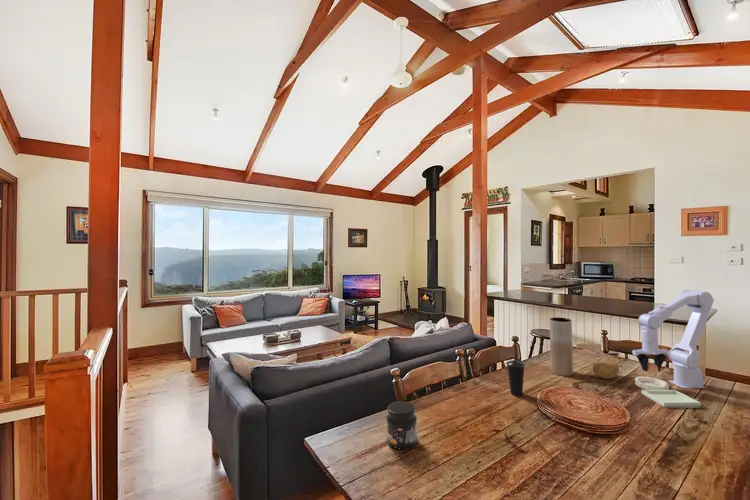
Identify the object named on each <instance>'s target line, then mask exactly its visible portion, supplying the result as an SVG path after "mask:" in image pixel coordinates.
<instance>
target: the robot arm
mask: <svg viewBox="0 0 750 500" xmlns="http://www.w3.org/2000/svg"><path fill="white" fill-rule="evenodd" d="M714 301H715V300H714V297H713V296H712V294H711V293H710V292H709V291H699V290H698V291H697V290H691V289H684V290H682V291H681V292H679V293H678V296H676V297H675V298H674V299H672V300H671V301H669V303H667V304H666V305H663V304H662V305H657V306H656V308H655V309H652V311H651V310H650V311H648V313H642V314H641V315H640V316H639V317H638V319H637V322H638V324H639V326H640V327H639V328H640V329H641V348H640V349H639V348H638V349H632V355H634V356H635V357H636V358H637V360H638V361H639V364H640V366H641V369H642V371H643V372H646V371H647V370H648V363H649V359H650V357H648V356H652V359H653V363H654V364H655V365H657V367H658V372H661V370H662V369H661V368H662V366H663V364H664V362H665V361H666V359H667V356H668V359H669V360H670V361H671V363H672V365H673V380H671V379H670V380H668V382H670V383H672V384H674V385H676V386H678V387H680V388H682V389H683V388H684V389H690V388H691V389H701V388H702V389H705V386H704V384H703V382H704V381H703V379H704V378H703V370H701V368H700V367H699V365H700V363H701V362H700V361H701V360H700V358H701V352H700V351H699V350H698V349H697V346H698V343H699V342H700V339H701V336H702V334H703V331H704V328H705V326H706V323H707V321H708V319H709V316H710V314H711V313H710V312H711V308H712V307H713V304H714ZM684 306H686V307H687V308H688V309H690V310H691V315H690V318H689V320H688V323H687V324H686V327H685V329H684V332H683V335H682V337H681V340H680V342H678V343H675V344H673V346H672V348H671V349H670V350H667V349H659V332H658V331H659V328H661V326H662V324H663V323H664V321H666V320H667V319H669V318H671V317H672V316H673V312H676V310H679V309H680V308H681V309H682V308H683V307H684Z"/></svg>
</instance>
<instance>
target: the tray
mask: <svg viewBox="0 0 750 500" xmlns="http://www.w3.org/2000/svg"><path fill="white" fill-rule="evenodd" d="M641 395H643V396H645V397H646V398H648V399H649V400H651V401H653V402H655V403H657V404H658V405H660V406H662V408H665V409H666V408H668V409H670V408H675V409H676V408H677V409H681V408H683V409H687V408H688V409H691V408H692V409H693V408H694V409H697V408H698V409H699V408H701V407H702V404H701V403H702V402H700V401H699V400H696V399H695V398H692V397H690V396H689V395H686V394H685V393H682V392H681V391H679V390H676V389H669V390H647V389H641Z"/></svg>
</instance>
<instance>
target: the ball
mask: <svg viewBox="0 0 750 500" xmlns="http://www.w3.org/2000/svg"><path fill="white" fill-rule="evenodd" d="M645 372H646V373H648V374H650V375H655V374H657V373H658V372H659V371H658V367H657V365H655V364H654V362H650V361H648V370H647V371H645Z"/></svg>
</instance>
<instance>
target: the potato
mask: <svg viewBox="0 0 750 500" xmlns="http://www.w3.org/2000/svg"><path fill="white" fill-rule="evenodd" d="M592 372H593V373H594V374H595V376H597V377H599V378H602V379H604V380H605V379H606V380H610V379H614V378H616V377H617V376H618V374H619V372H620V368H619V365H618V363H616V362H615V361H611V360H604V361H599V362H596V363H594V364H593V366H592Z"/></svg>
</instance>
